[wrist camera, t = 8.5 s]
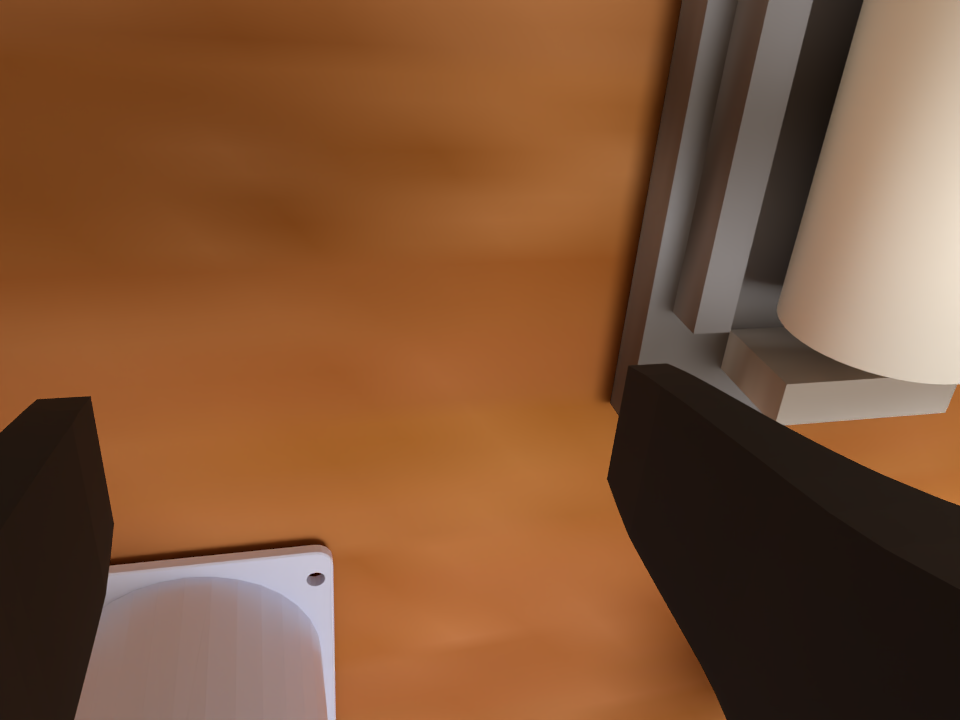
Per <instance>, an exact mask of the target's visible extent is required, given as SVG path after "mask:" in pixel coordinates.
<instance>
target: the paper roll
mask: <svg viewBox="0 0 960 720" xmlns="http://www.w3.org/2000/svg"><path fill="white" fill-rule="evenodd" d="M777 314H778V317H779V319H780V321H781V323H782V324H783V325H784V327H785V328H786V329H787V330H788V331H789V332H790V333H791V334H792V335H793V336H795V337H796V338H797V339H798V340H800V341H801V342H803V343H804V344H806V345H807V346H809V347H810V348H812V349H814V350H816V351H818V352H819V353H821V354H823V355H825V356H827V357H830V358H832V359H834V360H836V361H839V362H841V363H844V364H846V365H849V366H851V367H854V368H857V369H860V370H863V371H866V372H870V373H873V374H877V375H881V376H885V377H889V378H894V379H898V380H904V381H910V382H917V383H926V384H942V385H947V384H960V0H863V4H862V7H861V11H860V14H859V18H858V21H857V25H856V28H855V32H854V35H853V39H852V43H851V46H850V50H849V53H848V57H847V60H846V64H845V67H844V71H843V74H842V78H841V82H840V85H839V89H838V92H837V96H836V99H835V103H834V106H833V110H832V113H831V117H830V120H829V124H828V128H827V131H826V135H825V138H824V142H823V145H822V149H821V152H820V156H819V159H818V163H817V167H816V170H815V174H814V177H813V181H812V184H811V188H810V191H809V195H808V198H807V202H806V206H805V209H804V213H803V216H802V220H801V223H800V227H799V230H798V234H797V237H796V241H795V245H794V248H793V252H792V255H791V259H790V262H789V266H788V269H787V273H786V276H785V280H784V283H783V287H782V291H781V294H780V298H779V301H778V305H777Z"/></svg>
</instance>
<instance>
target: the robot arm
mask: <svg viewBox="0 0 960 720" xmlns="http://www.w3.org/2000/svg"><path fill="white" fill-rule="evenodd" d="M607 480H608V483H609V486H610V488H611V491H612V494H613V497H614V499H615V502H616V505H617V508H618V510H619V513H620V515H621V518H622V520H623V523H624V525H625V528H626V530H627V533H628V535H629V537H630V539H631V541H632V543H633V545H634V547H635V549H636V550H637V552H638V554H639V556H640V558H641V559H642V561H643V563H644V565H645V567H646V569H647V570H648V572H649V574H650V576H651V578H652V579H653V581H654V583H655V585H656V586H657V588H658V590H659V592H660V593H661V595H662V597H663V599H664V601H665V602H666V604H667V606H668V608H669V609H670V611H671V613H672V615H673V616H674V618H675V620H676V622H677V623H678V625H679V627H680V629H681V630H682V632H683V634H684V636H685V638H686V639H687V641H688V643H689V645H690V646H691V648H692V650H693V652H694V653H695V655H696V657H697V659H698V660H699V662H700V664H701V666H702V668H703V670H704V672H705V674H706V676H707V678H708V680H709V682H710V684H711V686H712V688H713V690H714V692H715V694H716V696H717V698H718V701H719V703H720V705H721V708H722V710H723V712H724V715H725V717H726V719H727V720H960V506H959V505H956V504H953V503H951V502H948V501H945V500H943V499H940V498H937V497H935V496H933V495H930V494H928V493H925V492H923V491H920V490H918V489H916V488H913V487H911V486H908V485H906V484H904V483H901V482H899V481H896V480H894V479H891V478H889V477H887V476H884V475H882V474H880V473H878V472H876V471H873V470H871V469H869V468H867V467H865V466H862V465H860V464H858V463H856V462H854V461H852V460H850V459H848V458H846V457H844V456H842V455H840V454H838V453H836V452H834V451H832V450H830V449H828V448H826V447H824V446H822V445H820V444H818V443H816V442H814V441H812V440H810V439H808V438H806V437H804V436H803V435H801V434H799V433H797V432H795V431H793V430H791V429H789V428H788V427H786V426H784V425H782V424H780V423H778V422H777V421H775V420H773V419H771V418H769V417H768V416H766V415H764V414H762V413H760V412H759V411H757V410H755V409H753V408H751V407H750V406H748V405H746V404H744V403H743V402H741V401H739V400H737V399H735V398H734V397H732V396H730V395H728V394H726V393H725V392H723V391H721V390H719V389H718V388H716V387H714V386H712V385H710V384H708V383H707V382H705V381H703V380H701V379H699V378H697V377H695V376H693V375H692V374H690V373H688V372H686V371H683V370H681V369H679V368H677V367H675V366H672V365H670V364H668V363H664V364H646V365H629V366H628V370H627V375H626V380H625V386H624V391H623V396H622V402H621V407H620V412H619V418H618V423H617V429H616V434H615V439H614V445H613V450H612V455H611V461H610V466H609V471H608V477H607ZM113 527H114V522H113V517H112V511H111V506H110V500H109V495H108V489H107V484H106V478H105V473H104V467H103V462H102V457H101V451H100V446H99V440H98V435H97V429H96V424H95V418H94V413H93V407H92V402H91V396H89V397H71V398H54V399H37V400H36V401H35V402H34V403H32V404H31V405H30V406H29V407H28V408H27V409H26V410H24V411H23V412H22V413H21V414H20V415H19V416H18V417H17V418H16V419H15V420H14V421H13V422H11V423H10V424H9V425H8V426H7V427H6V428H5V429H4V430H3V431H2V432H1V433H0V720H336V711H335V651H334V590H333V559H332V554H331V551H330V550H329V549H328V548H327V547H325V546H322V545H307V546H298V547H288V548H278V549H268V550H258V551H248V552H239V553H229V554H219V555H209V556H199V557H190V558H180V559H170V560H160V561H150V562H141V563H131V564H121V565H111V566H110V557H111V547H112V537H113ZM315 572H316V573H321V574H320V575H318V576H309V575H310V574H312V573H315Z"/></svg>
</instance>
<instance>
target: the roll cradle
mask: <svg viewBox="0 0 960 720" xmlns="http://www.w3.org/2000/svg"><path fill="white" fill-rule="evenodd" d="M862 4H863V0H682V5H681V10H680V16H679V21H678V27H677V33H676V38H675V44H674V49H673V55H672V61H671V66H670V72H669V77H668V83H667V89H666V94H665V100H664V105H663V111H662V117H661V122H660V128H659V133H658V139H657V144H656V150H655V156H654V161H653V167H652V172H651V178H650V184H649V189H648V195H647V200H646V206H645V212H644V217H643V223H642V228H641V234H640V240H639V245H638V251H637V256H636V262H635V267H634V273H633V279H632V284H631V290H630V295H629V301H628V307H627V312H626V318H625V323H624V329H623V335H622V340H621V346H620V351H619V357H618V363H617V368H616V374H615V379H614V385H613V390H612V396H611V402H610V403H611V405H612V406H613V408H614V409H615V411H616V412H617V414H618V415H619V412H620V407H621V402H622V396H623V391H624V386H625V380H626V375H627V370H628V366H629V365H646V364H664V363H668V364H670V365H672V366H675V367H677V368H679V369H681V370H683V371H686V372H688V373H690V374H692V375H693V376H695V377H697V378H699V379H701V380H703V381H705V382H707V383H708V384H710V385H712V386H714V387H716V388H718V389H719V390H721V391H723V392H725V393H726V394H728V395H730V396H732V397H734V398H735V399H737V400H739V401H741V402H743V403H744V404H746V405H748V406H750V407H751V408H753V409H755V410H757V411H759V412H760V413H762V414H764V415H766V416H768V417H769V418H771V419H773V420H775V421H777V422H778V423H780V424H782V425H795V424H807V423H820V422H833V421H845V420H858V419H871V418H883V417H896V416H908V415H921V414H934V413H945V412H946V410H947V407H948V405H949V403H950V400H951V398H952V395H953V393H954V391H955V388H956V386H957V384H947V385H942V384H926V383H917V382H910V381H904V380H898V379H894V378H889V377H885V376H881V375H877V374H873V373H870V372H866V371H863V370H860V369H857V368H854V367H851V366H849V365H846V364H844V363H841V362H839V361H836V360H834V359H832V358H830V357H827V356H825V355H823V354H821V353H819V352H818V351H816V350H814V349H812V348H810V347H809V346H807V345H806V344H804V343H803V342H801V341H800V340H798V339H797V338H796V337H795V336H793V335H792V334H791V333H790V332H789V331H788V330H787V329H786V328H785V327H784V325H783V324H782V323H781V321H780V319H779V317H778V314H777V305H778V301H779V298H780V294H781V291H782V287H783V283H784V280H785V276H786V273H787V269H788V266H789V262H790V259H791V255H792V252H793V248H794V245H795V241H796V237H797V234H798V230H799V227H800V223H801V220H802V216H803V213H804V209H805V206H806V202H807V198H808V195H809V191H810V188H811V184H812V181H813V177H814V174H815V170H816V167H817V163H818V159H819V156H820V152H821V149H822V145H823V142H824V138H825V135H826V131H827V128H828V124H829V120H830V117H831V113H832V110H833V106H834V103H835V99H836V96H837V92H838V89H839V85H840V82H841V78H842V74H843V71H844V67H845V64H846V60H847V57H848V53H849V50H850V46H851V43H852V39H853V35H854V32H855V28H856V25H857V21H858V18H859V14H860V11H861V7H862Z"/></svg>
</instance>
